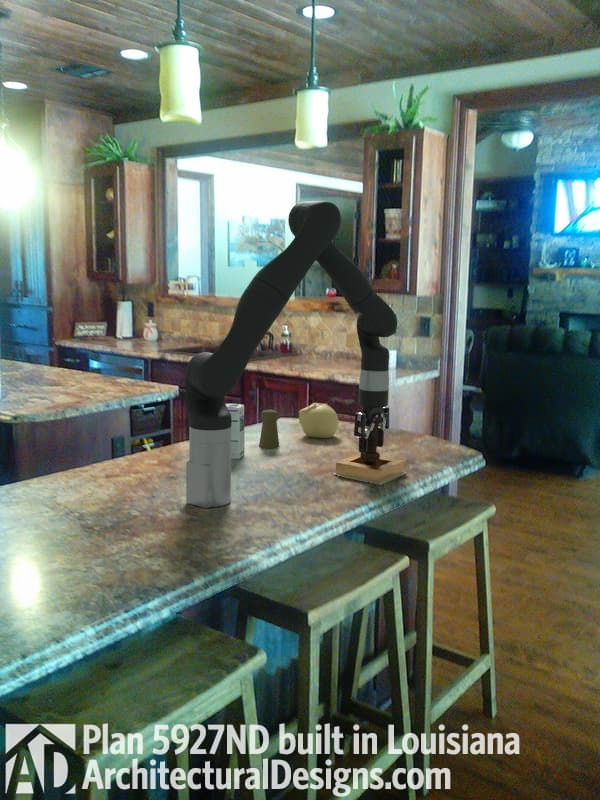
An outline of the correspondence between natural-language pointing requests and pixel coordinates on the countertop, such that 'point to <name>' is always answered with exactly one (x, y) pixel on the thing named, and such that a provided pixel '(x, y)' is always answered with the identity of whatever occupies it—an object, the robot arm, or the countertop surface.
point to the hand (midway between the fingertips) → (371, 449)
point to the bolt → (372, 445)
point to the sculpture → (318, 420)
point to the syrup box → (237, 430)
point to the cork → (269, 430)
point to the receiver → (370, 469)
